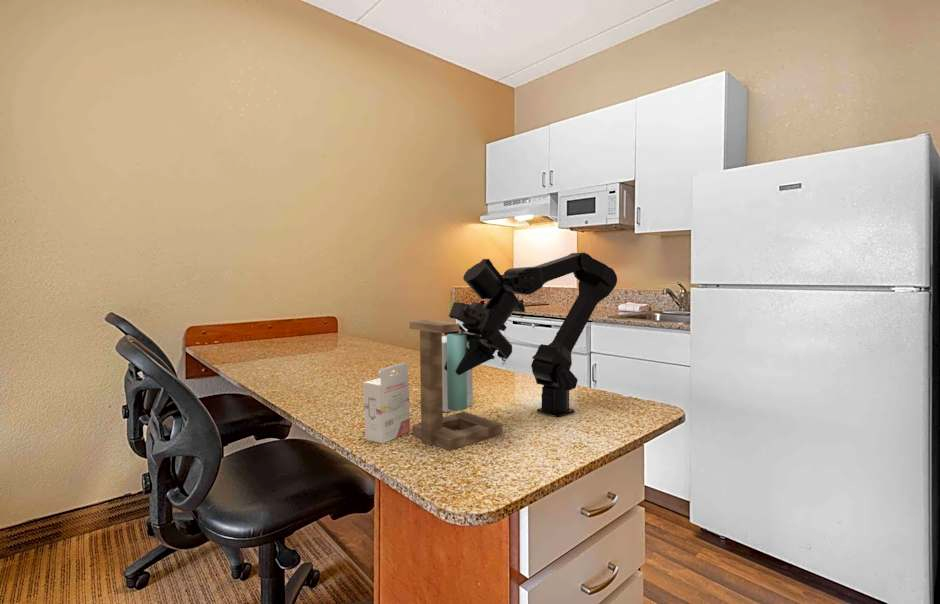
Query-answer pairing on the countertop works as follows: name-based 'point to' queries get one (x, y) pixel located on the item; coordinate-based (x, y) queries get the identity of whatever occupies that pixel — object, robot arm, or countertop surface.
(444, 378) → the supplement box
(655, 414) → the countertop surface
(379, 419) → the ink cartridge box
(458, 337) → the peg
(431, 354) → the socket stand
